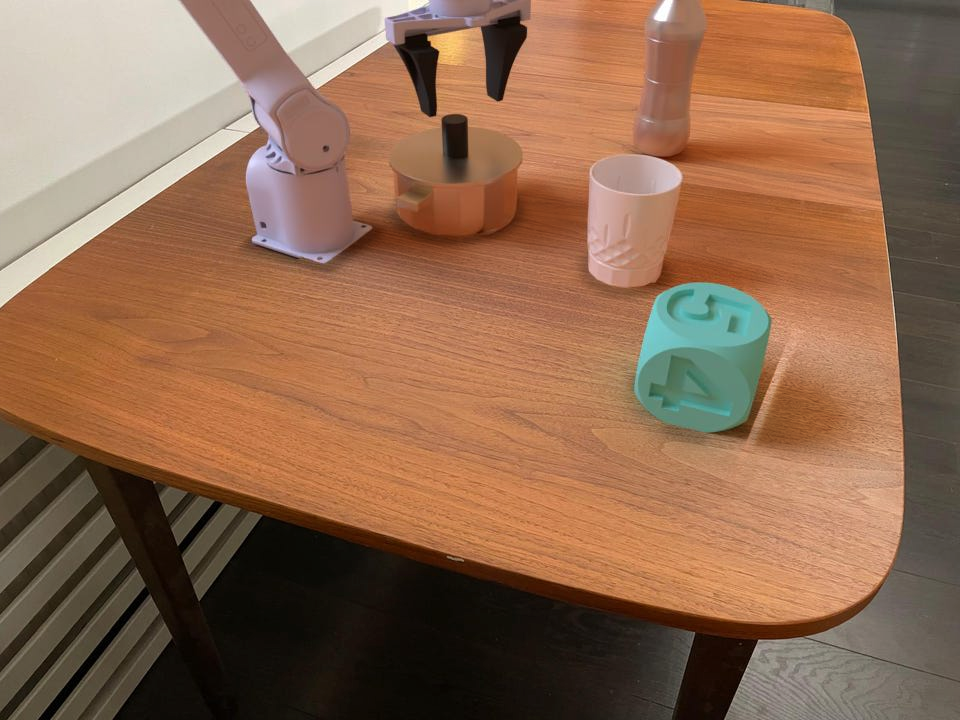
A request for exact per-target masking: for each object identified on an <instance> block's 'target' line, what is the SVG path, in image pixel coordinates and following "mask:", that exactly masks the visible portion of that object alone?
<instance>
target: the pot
mask: <svg viewBox="0 0 960 720" xmlns="http://www.w3.org/2000/svg"><path fill="white" fill-rule="evenodd" d="M505 135H506V136H508V135H507V134H505ZM518 170H519V168H518V169H517V170H516V171H515V172H514V173H513V174H511V175H510V176H508V177H506V178H504V179H502V180H499V181H497V182H494V183H491V184H486V185H482V186H477V187H469V188H436V187H429V186H424V185H419V184H416V183H413V182H410V181H408V180H405V179H404V178H402V177H400V176H399V175H397V174H396V173H395V172H394V171H393V170H392V175H393V176H392V177H393V186H394V198H395V208H396V211H397V213H398V216H399V218H400V220H401V221H403V222H404V223H406V224H407V225H409V226H410V227H412V228H413V229H415V230H419V231H423V232H425V233H428V234H433V235H439V236H458V237H461V236H468V235H474V234H476V235H479V236H482V237H483V236H484V237H486V236H488V235H491V234H494V233H496V232H499V231H501V230H502V229H504V228H506V226H508V225H510V223H511V222H512V221H513V220H514V218H515V217H516V212H517V204H518Z"/></svg>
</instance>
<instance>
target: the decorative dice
mask: <svg viewBox="0 0 960 720" xmlns="http://www.w3.org/2000/svg"><path fill="white" fill-rule="evenodd" d="M772 323H773V319H772V317H771V315H770V314H769V313H768V311H767V310H766V309H765V307H764V306H763V305H762V304H761V303H760V302H759V301H757V300H756V299H755V298H754V297H752V296H751V295H749V294H748V293H746V292H744V291H742V290H739V289H737V288H734V287H732V286H728V285H725V284H719V283H713V282H698V281H697V282H687V283H682V284H679V285H675V286H673V287H671V288H669V289H666V290H664V291H663V292H661V293H660V294H658V295H657V296H656V297H655V300H654V302H653V305H652V308H651V311H650V314H649V317H648V320H647V325H646V328H645V331H644V334H643V340H642V344H641V348H640V351H639V352H640V354H639V357H638V361H637V367H636V373H635V379H634V387H633V388H634V390H633V393H634V395H635V397H636V398H637V401H639V403H640V404H641V405H642V406H643V408H645V410H647V412H648V413H650V414H651V415H652V416H653V417H654V418H656V419H657V420H659V421H660V422H662V423H665V424H669V425H673V426H677V427H681V428H686V429H689V430H694V431H697V432H702V433H718V432H724V431H726V430H730V429H733V428H735V427H736V428H737V427H738V426H740V425H742V424H744V423H746V422H747V420H748V418H749V416H750V413H751V410H752V407H753V403H754V400H755V396H756V393H757V389H758V386H759V381H760V377H761V374H762V369H763V367H764V361H765V357H766V353H767V349H768V345H769V339H770V334H771V329H772Z"/></svg>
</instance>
